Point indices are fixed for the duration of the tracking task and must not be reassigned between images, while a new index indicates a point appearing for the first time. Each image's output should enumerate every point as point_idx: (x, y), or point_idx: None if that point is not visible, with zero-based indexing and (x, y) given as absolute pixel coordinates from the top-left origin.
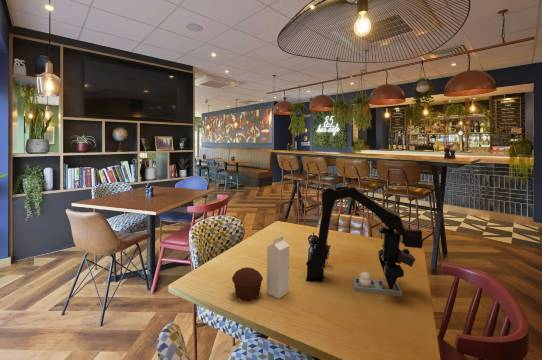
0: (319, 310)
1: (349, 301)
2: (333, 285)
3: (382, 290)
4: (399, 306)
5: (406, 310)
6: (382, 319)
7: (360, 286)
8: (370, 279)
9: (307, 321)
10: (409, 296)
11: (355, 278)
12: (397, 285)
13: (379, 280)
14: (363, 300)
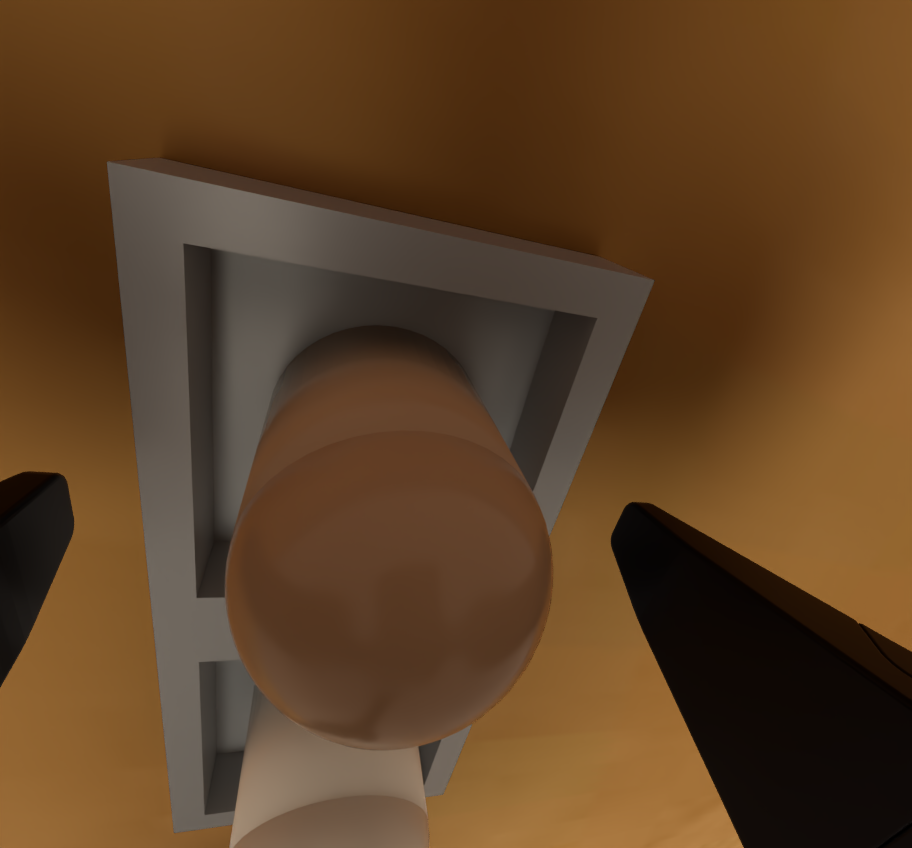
0: (644, 828)
1: (584, 743)
2: None
3: None
4: (782, 386)
5: (878, 332)
6: (863, 576)
7: None
8: (399, 799)
9: (711, 836)
10: (593, 61)
11: (201, 815)
12: (344, 262)
13: (162, 575)
14: (588, 673)
